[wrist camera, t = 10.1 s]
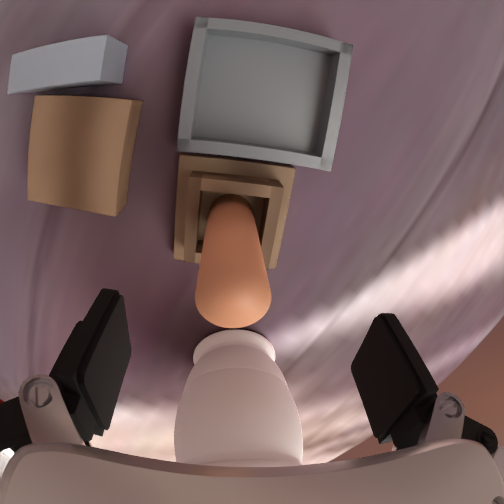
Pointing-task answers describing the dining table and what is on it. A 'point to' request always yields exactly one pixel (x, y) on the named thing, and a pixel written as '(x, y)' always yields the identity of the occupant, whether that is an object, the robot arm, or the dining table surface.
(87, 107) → the tan wooden block
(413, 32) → the dining table surface
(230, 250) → the dowel
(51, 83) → the gray rectangular block
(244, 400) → the jar
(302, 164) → the tray
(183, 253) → the holder
